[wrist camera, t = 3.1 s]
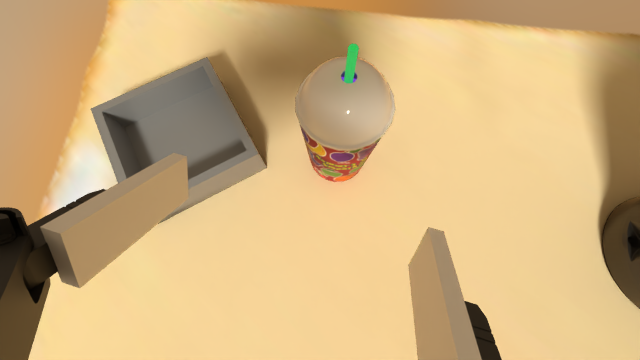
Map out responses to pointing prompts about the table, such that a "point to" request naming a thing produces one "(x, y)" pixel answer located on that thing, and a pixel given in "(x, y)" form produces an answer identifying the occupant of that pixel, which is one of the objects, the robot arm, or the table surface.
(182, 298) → the table surface
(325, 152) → the smoothie
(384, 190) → the table surface
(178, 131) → the holder tray
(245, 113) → the table surface
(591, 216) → the table surface
